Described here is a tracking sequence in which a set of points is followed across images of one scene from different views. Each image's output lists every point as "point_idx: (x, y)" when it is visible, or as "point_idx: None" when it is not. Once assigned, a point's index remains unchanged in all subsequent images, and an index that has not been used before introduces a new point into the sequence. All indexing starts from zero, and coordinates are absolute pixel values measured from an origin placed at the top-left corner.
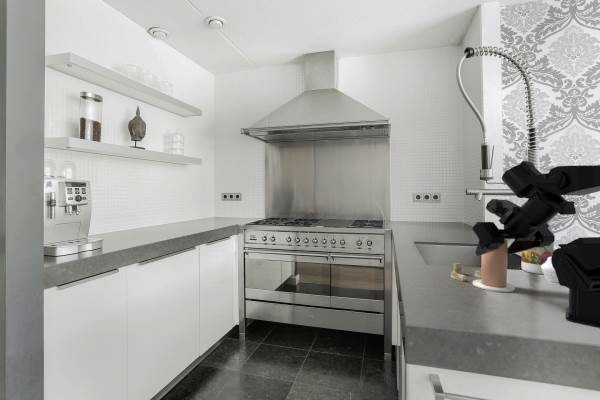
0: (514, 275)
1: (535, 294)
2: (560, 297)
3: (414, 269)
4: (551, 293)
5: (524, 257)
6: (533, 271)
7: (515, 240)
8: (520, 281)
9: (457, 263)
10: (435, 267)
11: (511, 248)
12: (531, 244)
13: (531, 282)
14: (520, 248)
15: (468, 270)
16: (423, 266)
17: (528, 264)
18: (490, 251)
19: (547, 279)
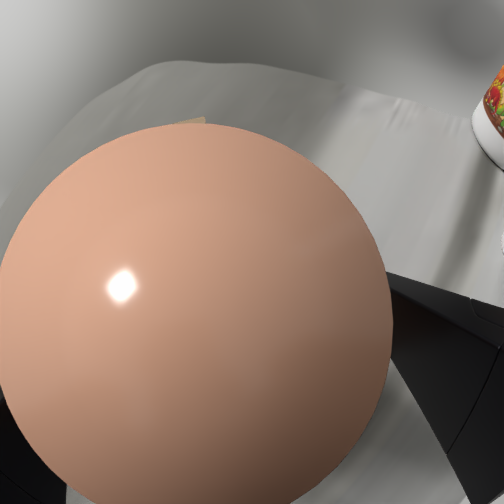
0: (429, 174)
1: (353, 447)
2: (419, 464)
3: (78, 121)
4: (426, 420)
5: (494, 104)
6: (492, 156)
7: (463, 337)
8: (413, 257)
9: (193, 121)
10: (172, 84)
11: (395, 322)
12: (483, 493)
13: (445, 269)
14: (432, 402)
15: (281, 108)
16: (137, 80)
17: (493, 131)
18: (59, 496)
19: (502, 243)
